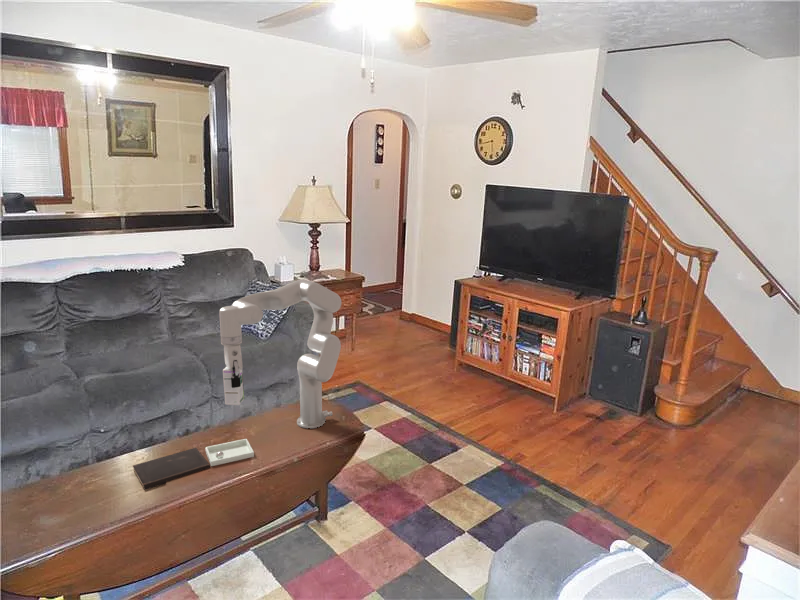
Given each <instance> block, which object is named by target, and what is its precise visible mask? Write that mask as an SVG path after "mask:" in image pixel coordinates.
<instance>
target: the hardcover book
mask: <svg viewBox="0 0 800 600" xmlns="http://www.w3.org/2000/svg"><path fill="white" fill-rule="evenodd" d="M132 468H133V472H135V475H136V476H137V478H138V479H139V481H140V483H141V485H142V487H143V490H149V489H151V488H155V487H158V485H159V486H162V485H165V484H167V482H170V481H172V480H176V479H179V478H183V477H185V476H188V475H192V474H194V473H198V472H201V471H204V470H208V469H210V468H211V465H210V462H209V461H207V460H206V458H205V457H204V455H202V453H201V452H200V450H198V448H197V447H192V448H190V449H186V450H183V451H178V452H175V453H173V454H169V455H165V456H162V457H158V458H154V459H151V460H147V461H144V462H141V463H137V464H134V465H132Z"/></svg>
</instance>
